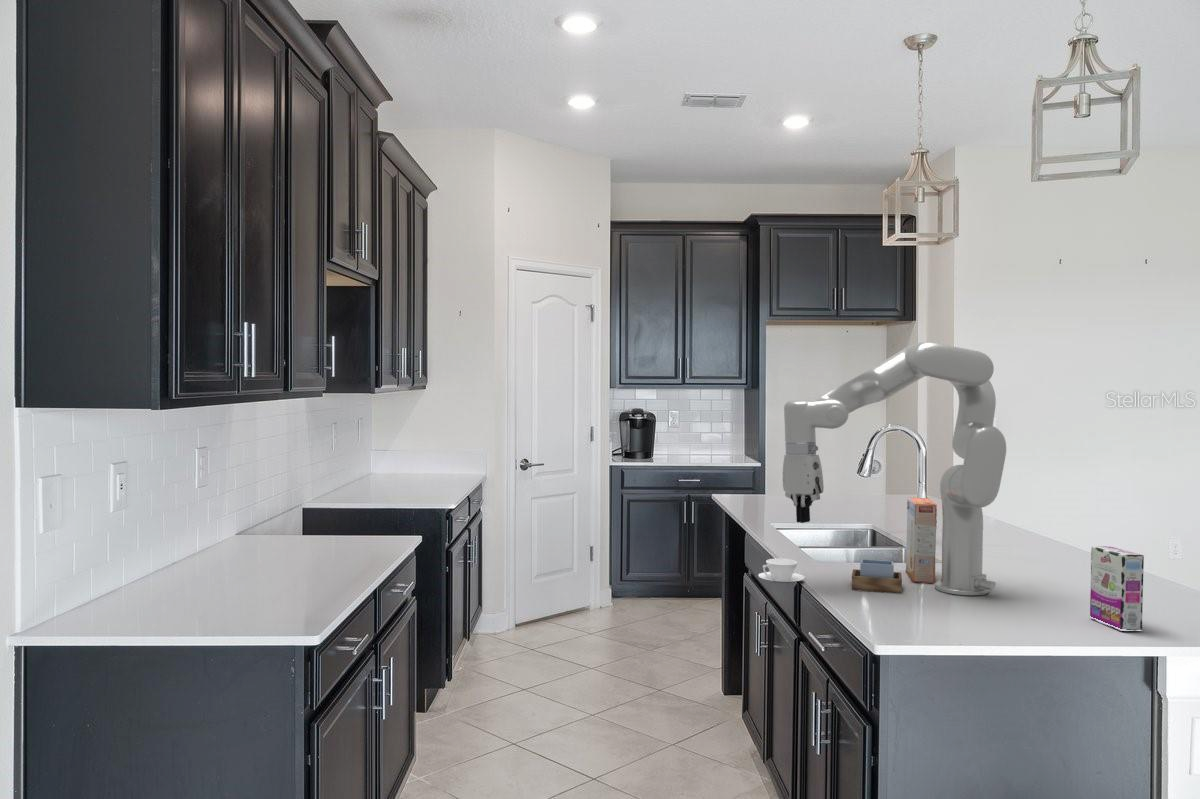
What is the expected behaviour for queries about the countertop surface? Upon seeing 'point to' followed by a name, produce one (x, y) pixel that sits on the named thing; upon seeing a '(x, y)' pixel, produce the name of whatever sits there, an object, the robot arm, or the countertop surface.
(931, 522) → the cracker box
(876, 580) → the walnut crate
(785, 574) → the teacup
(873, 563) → the slate crate
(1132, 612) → the candy bar box
